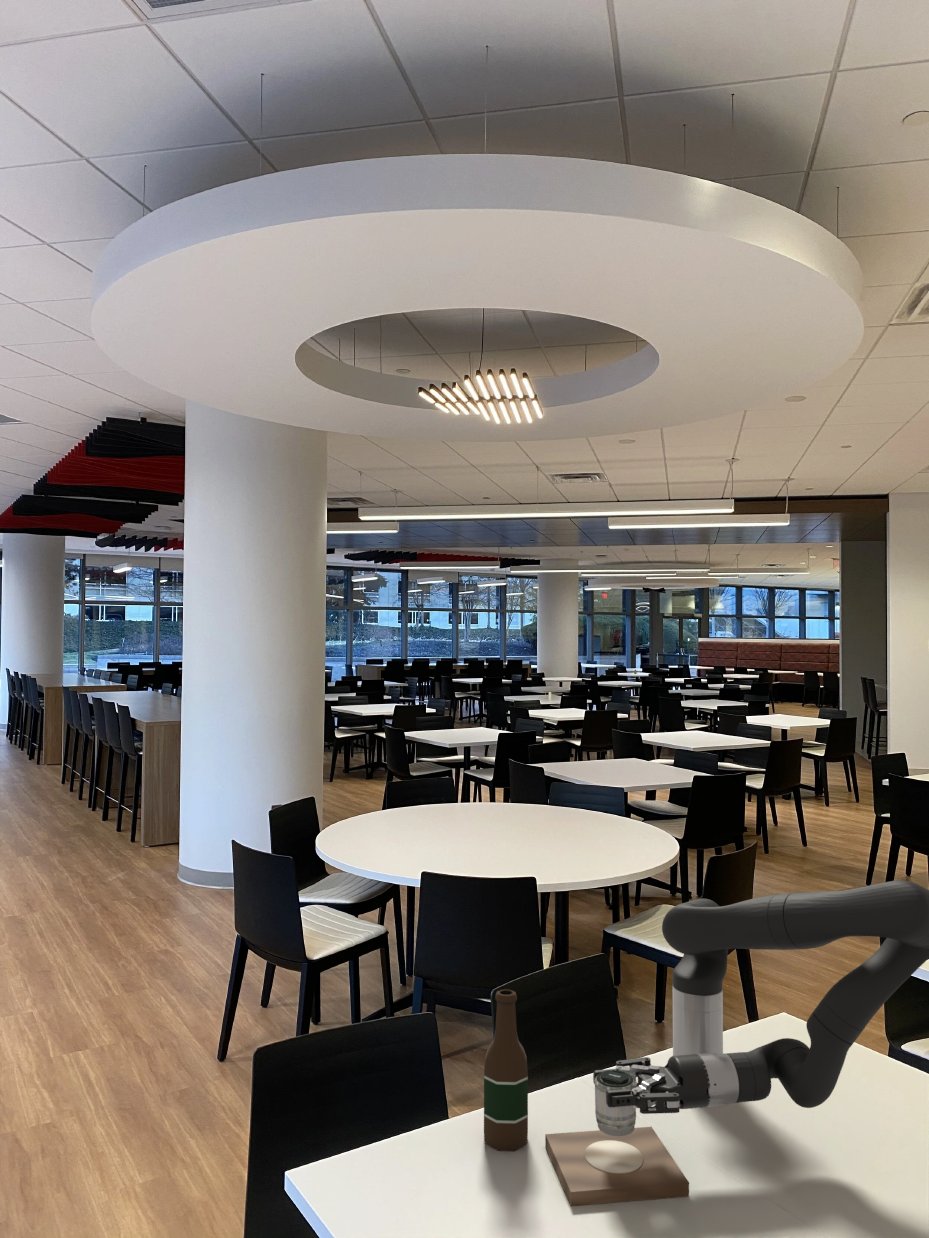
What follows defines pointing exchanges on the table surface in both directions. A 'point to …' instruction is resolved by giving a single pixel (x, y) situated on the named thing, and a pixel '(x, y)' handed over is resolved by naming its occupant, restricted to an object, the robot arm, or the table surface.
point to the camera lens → (613, 1118)
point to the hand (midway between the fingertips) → (600, 1088)
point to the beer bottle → (505, 1081)
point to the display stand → (614, 1167)
